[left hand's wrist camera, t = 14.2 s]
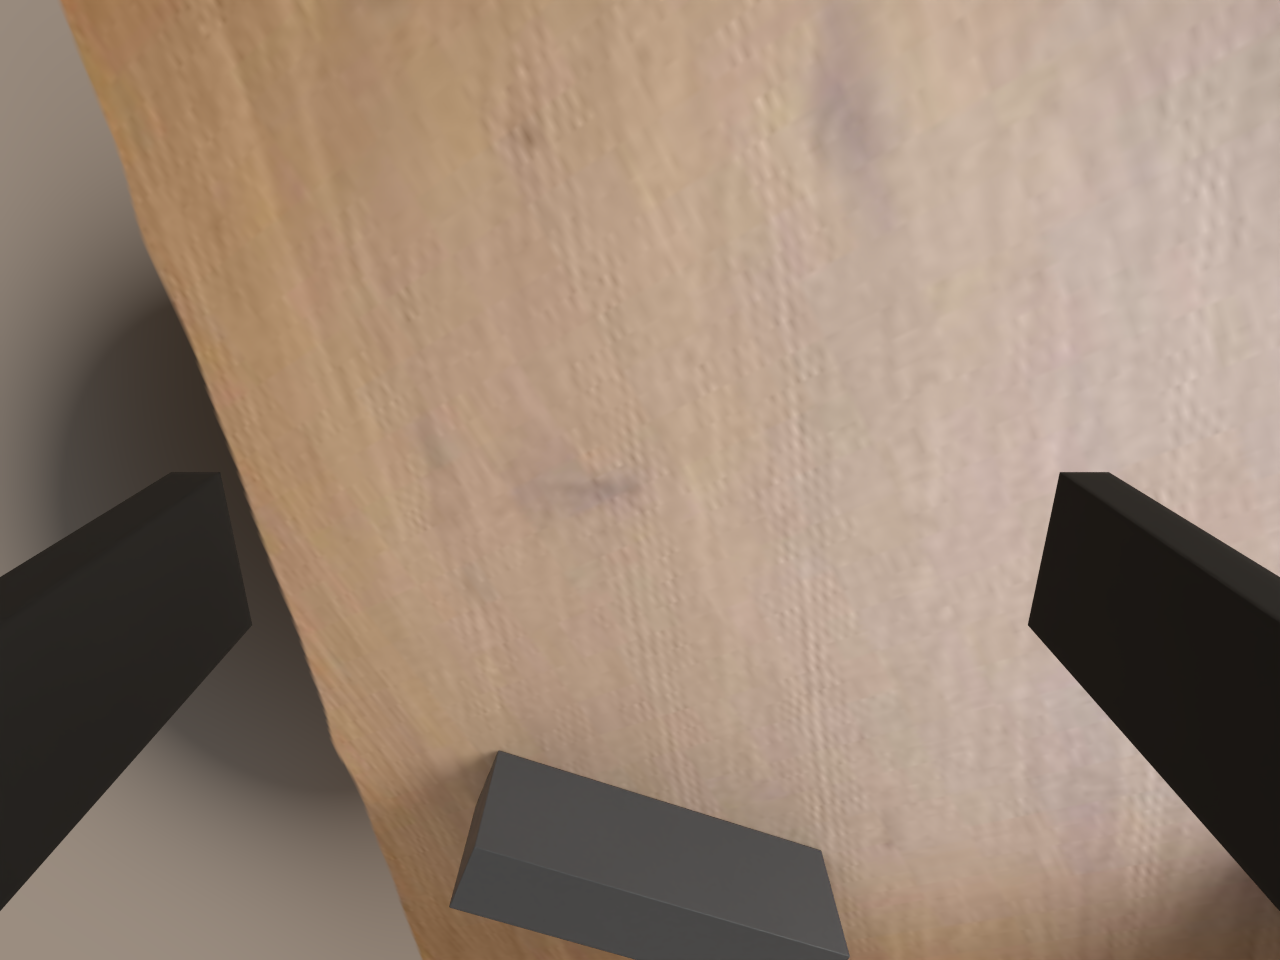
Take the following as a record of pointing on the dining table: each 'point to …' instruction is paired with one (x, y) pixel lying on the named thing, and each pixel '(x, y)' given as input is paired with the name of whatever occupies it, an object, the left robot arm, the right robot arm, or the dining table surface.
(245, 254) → the dining table surface
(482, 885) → the bar
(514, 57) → the dining table surface
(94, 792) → the left robot arm
